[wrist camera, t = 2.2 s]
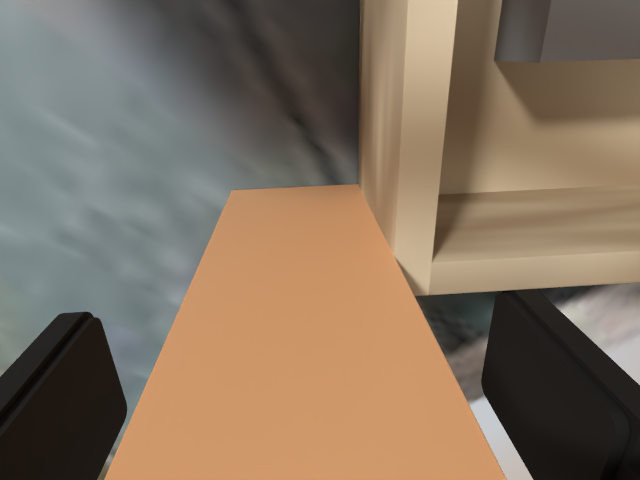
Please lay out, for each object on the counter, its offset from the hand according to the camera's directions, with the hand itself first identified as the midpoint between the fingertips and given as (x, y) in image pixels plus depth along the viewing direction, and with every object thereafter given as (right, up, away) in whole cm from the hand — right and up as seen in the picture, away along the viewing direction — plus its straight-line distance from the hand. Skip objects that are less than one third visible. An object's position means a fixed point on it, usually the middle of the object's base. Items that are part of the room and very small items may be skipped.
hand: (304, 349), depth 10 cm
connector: (0, +3, +4) cm, 5 cm away
